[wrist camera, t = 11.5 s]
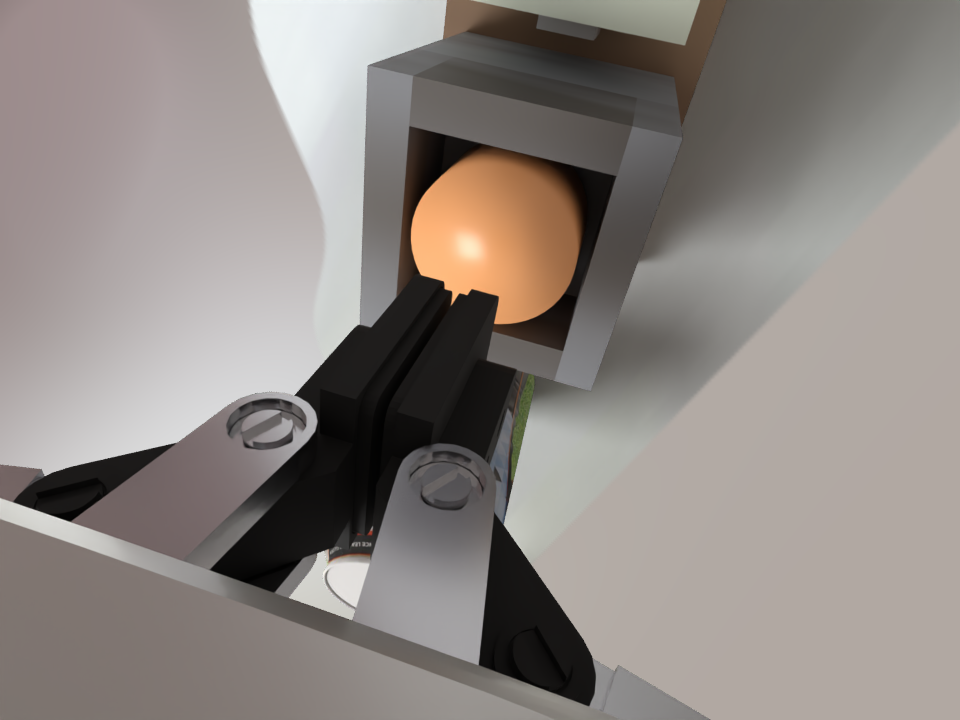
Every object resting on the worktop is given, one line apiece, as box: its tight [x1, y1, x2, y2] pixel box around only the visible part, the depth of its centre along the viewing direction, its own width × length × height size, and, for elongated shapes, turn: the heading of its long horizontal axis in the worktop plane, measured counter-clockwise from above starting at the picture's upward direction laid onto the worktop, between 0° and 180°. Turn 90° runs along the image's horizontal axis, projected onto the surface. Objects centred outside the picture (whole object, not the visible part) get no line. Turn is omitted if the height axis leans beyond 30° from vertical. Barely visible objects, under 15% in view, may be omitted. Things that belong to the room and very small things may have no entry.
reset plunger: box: [411, 143, 588, 324], centre depth 14 cm, size 4×4×2 cm
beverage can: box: [323, 370, 535, 611], centre depth 22 cm, size 6×7×12 cm
